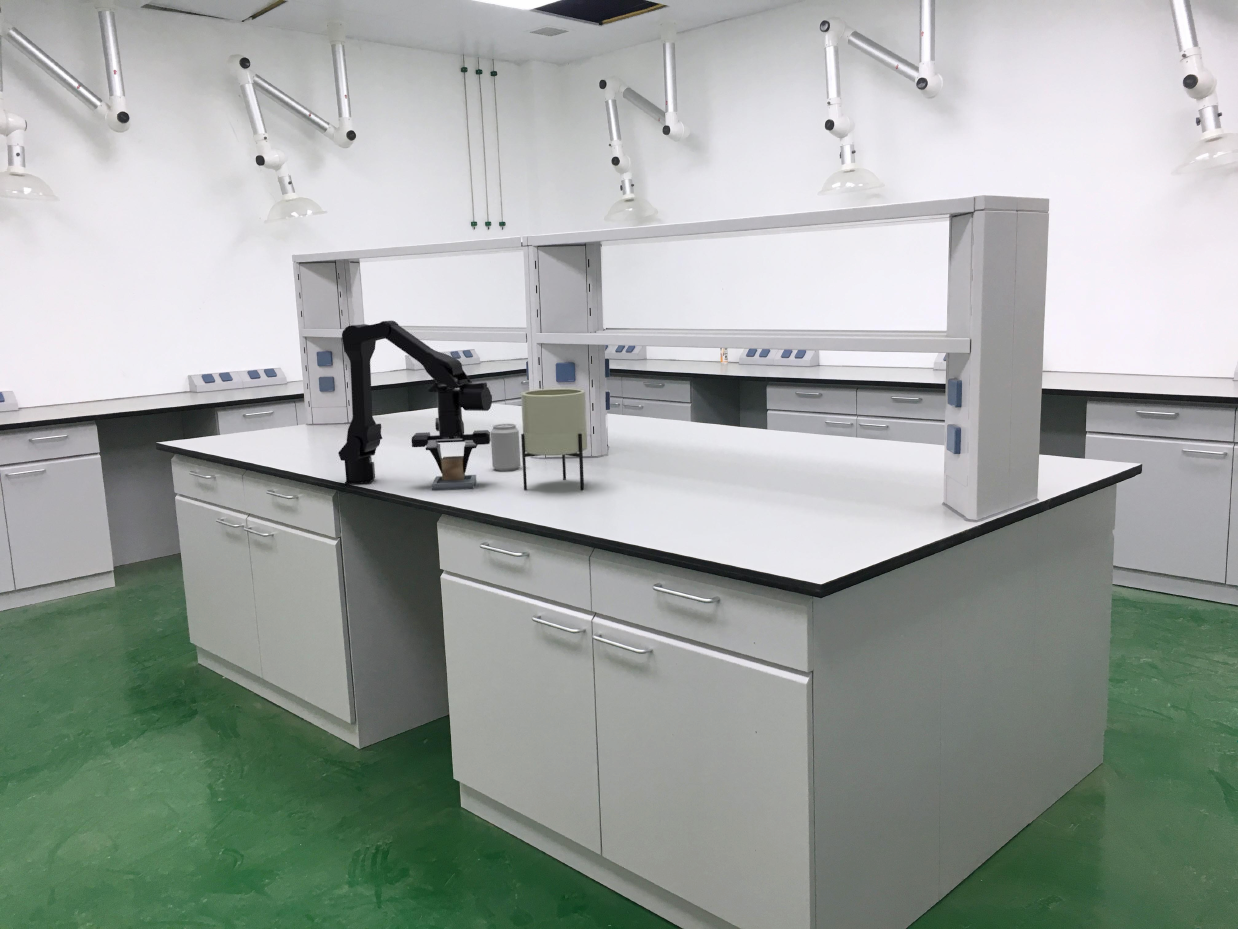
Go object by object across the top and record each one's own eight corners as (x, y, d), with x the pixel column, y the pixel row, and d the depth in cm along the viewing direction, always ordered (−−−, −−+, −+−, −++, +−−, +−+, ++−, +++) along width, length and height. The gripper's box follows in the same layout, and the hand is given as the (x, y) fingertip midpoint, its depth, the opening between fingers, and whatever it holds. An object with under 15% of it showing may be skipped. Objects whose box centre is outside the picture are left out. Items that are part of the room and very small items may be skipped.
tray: (431, 490, 236) (431, 484, 236) (436, 482, 246) (436, 476, 245) (473, 488, 237) (472, 482, 236) (476, 480, 246) (476, 474, 246)
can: (494, 472, 256) (492, 427, 254) (490, 467, 263) (488, 423, 261) (523, 470, 258) (520, 425, 256) (518, 465, 265) (515, 421, 263)
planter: (516, 484, 240) (511, 391, 236) (577, 478, 246) (573, 386, 241) (532, 496, 226) (528, 397, 222) (597, 489, 232) (593, 392, 227)
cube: (442, 480, 238) (441, 460, 237) (444, 476, 243) (443, 456, 242) (463, 479, 239) (461, 459, 238) (464, 475, 243) (463, 455, 243)
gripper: (490, 404, 246) (493, 465, 249) (415, 407, 245) (419, 468, 248) (487, 410, 235) (490, 474, 238) (409, 413, 234) (413, 477, 237)
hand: (453, 473), depth 241 cm, fingers closed on cube, 5 cm apart
